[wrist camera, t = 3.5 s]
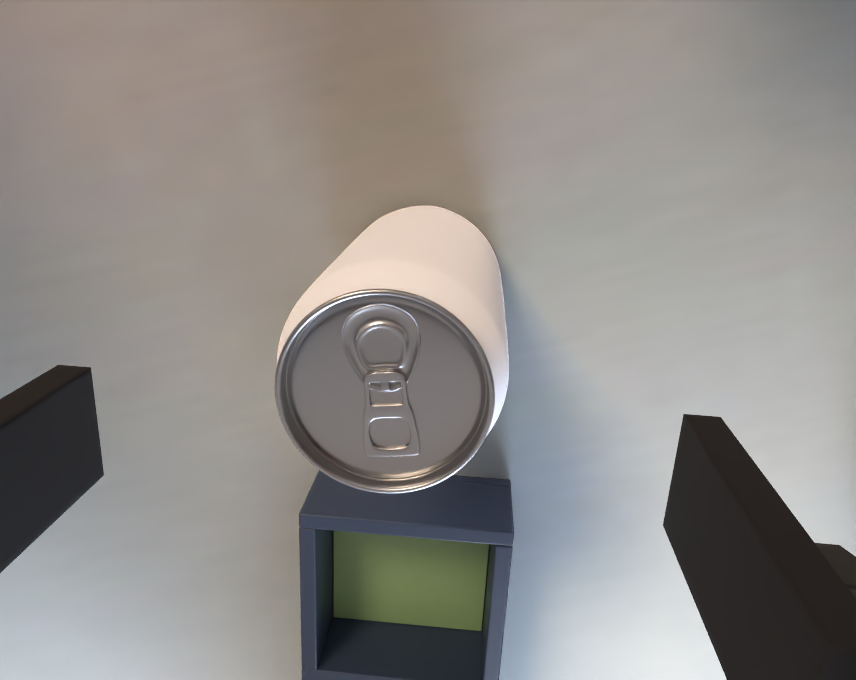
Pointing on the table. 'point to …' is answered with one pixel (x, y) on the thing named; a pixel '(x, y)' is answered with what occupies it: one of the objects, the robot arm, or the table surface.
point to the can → (397, 354)
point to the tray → (405, 580)
